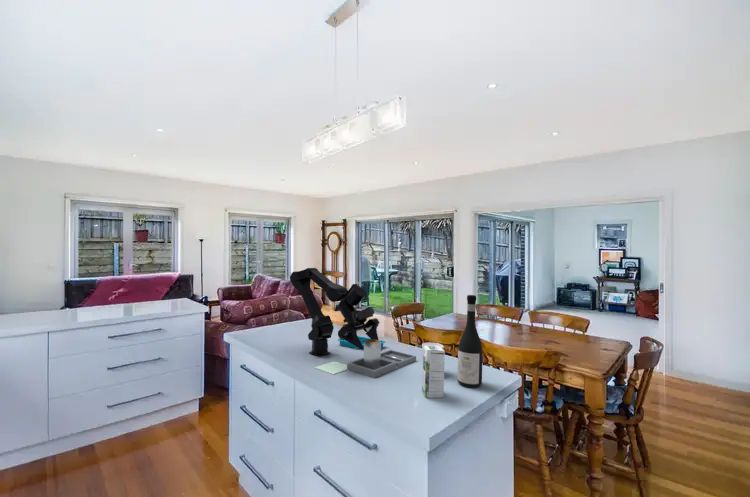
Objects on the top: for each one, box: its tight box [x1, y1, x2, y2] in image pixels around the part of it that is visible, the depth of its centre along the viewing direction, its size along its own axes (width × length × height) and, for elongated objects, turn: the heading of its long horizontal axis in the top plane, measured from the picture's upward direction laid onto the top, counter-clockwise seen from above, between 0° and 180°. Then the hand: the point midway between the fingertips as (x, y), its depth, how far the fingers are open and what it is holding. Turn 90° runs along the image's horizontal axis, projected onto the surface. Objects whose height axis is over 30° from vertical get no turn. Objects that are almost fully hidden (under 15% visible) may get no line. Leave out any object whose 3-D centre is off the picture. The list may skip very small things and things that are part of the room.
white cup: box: [421, 342, 445, 365], centre depth 129 cm, size 8×8×10 cm
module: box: [363, 339, 382, 370], centre depth 130 cm, size 4×5×10 cm
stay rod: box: [384, 355, 403, 361], centre depth 140 cm, size 10×1×1 cm, turn 51°
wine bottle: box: [457, 294, 484, 389], centre depth 118 cm, size 8×8×30 cm
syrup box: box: [421, 345, 446, 399], centre depth 109 cm, size 6×6×14 cm
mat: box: [313, 361, 349, 375], centre depth 130 cm, size 10×10×1 cm
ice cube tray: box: [337, 335, 386, 351], centre depth 161 cm, size 12×20×3 cm, turn 58°
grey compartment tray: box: [346, 349, 417, 379], centre depth 135 cm, size 13×27×2 cm, turn 141°
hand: (370, 346), depth 130 cm, fingers open, 9 cm apart
